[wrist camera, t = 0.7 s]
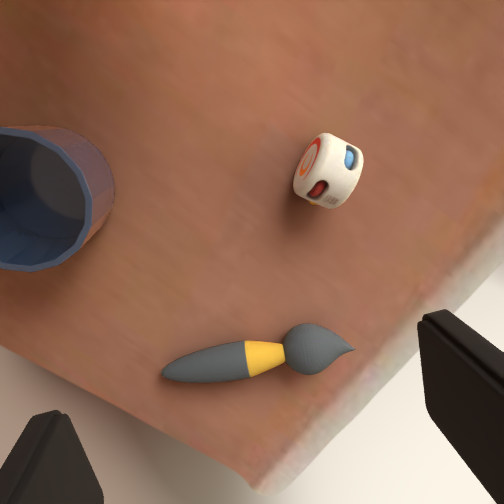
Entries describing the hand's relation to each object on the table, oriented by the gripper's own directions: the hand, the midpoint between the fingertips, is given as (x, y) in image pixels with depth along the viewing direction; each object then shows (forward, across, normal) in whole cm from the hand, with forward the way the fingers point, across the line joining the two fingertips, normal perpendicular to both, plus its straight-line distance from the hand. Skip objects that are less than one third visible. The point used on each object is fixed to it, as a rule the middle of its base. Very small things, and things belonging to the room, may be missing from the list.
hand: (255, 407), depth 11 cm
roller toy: (+30, -10, -1) cm, 31 cm away
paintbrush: (+30, 0, +16) cm, 34 cm away
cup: (+29, +14, -5) cm, 33 cm away
